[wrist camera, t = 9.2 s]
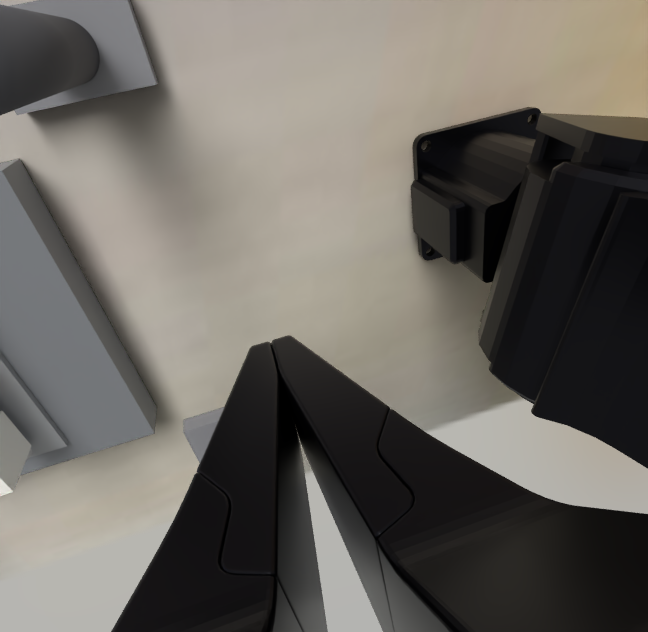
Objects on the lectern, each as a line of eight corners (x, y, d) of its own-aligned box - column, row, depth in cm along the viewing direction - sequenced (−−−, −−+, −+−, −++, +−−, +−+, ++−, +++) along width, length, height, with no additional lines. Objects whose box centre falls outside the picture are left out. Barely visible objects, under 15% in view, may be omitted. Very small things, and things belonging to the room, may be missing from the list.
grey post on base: (125, -13, 15) (51, -77, 7) (158, 82, 17) (127, 118, 9) (-24, 16, 15) (-290, -18, 7) (25, 111, 16) (-139, 179, 8)
